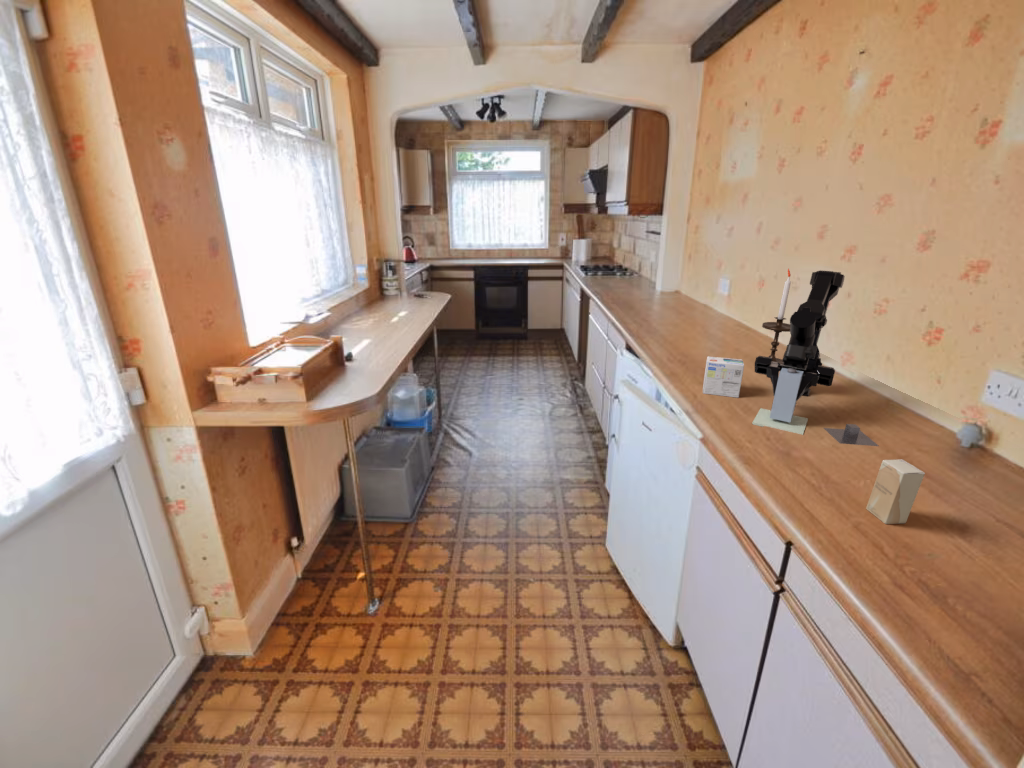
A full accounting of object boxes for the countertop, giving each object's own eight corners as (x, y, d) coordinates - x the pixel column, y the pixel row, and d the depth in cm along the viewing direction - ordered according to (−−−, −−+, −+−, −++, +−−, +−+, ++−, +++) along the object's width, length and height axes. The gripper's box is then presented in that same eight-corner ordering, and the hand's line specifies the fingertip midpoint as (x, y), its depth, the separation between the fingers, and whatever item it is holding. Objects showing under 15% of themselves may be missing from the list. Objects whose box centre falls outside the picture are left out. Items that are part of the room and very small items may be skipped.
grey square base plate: (822, 429, 129) (826, 417, 128) (859, 431, 128) (863, 419, 126) (839, 444, 120) (842, 432, 119) (878, 447, 119) (882, 435, 118)
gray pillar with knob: (772, 411, 135) (783, 364, 130) (792, 416, 133) (804, 368, 128) (769, 417, 131) (780, 370, 126) (790, 422, 129) (801, 373, 124)
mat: (760, 410, 140) (760, 408, 140) (807, 420, 134) (808, 418, 134) (752, 424, 131) (752, 422, 131) (802, 436, 125) (803, 433, 124)
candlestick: (751, 362, 183) (770, 268, 171) (760, 356, 191) (778, 265, 179) (783, 368, 177) (804, 271, 164) (790, 362, 184) (811, 268, 172)
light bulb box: (737, 391, 155) (743, 358, 151) (739, 398, 149) (745, 365, 145) (701, 386, 158) (706, 355, 154) (702, 393, 152) (707, 361, 148)
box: (864, 508, 95) (880, 458, 91) (885, 507, 95) (901, 457, 91) (886, 525, 90) (904, 473, 86) (908, 524, 90) (926, 472, 86)
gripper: (762, 327, 132) (746, 376, 127) (843, 338, 122) (829, 391, 117) (762, 348, 141) (747, 395, 136) (837, 360, 131) (824, 410, 126)
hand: (785, 397), depth 129 cm, fingers closed on gray pillar with knob, 5 cm apart
